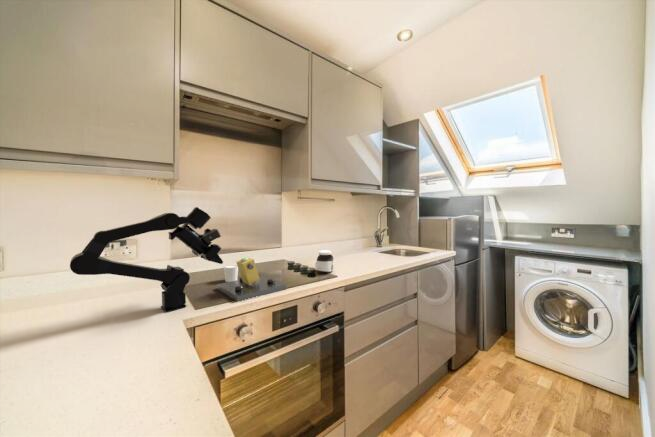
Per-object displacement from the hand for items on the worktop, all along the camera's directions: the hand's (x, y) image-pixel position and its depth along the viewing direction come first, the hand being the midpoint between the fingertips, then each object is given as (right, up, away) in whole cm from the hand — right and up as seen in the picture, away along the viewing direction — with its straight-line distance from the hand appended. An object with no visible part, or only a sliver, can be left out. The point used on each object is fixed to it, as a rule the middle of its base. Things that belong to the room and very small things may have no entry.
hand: (221, 262), depth 103 cm
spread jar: (+41, -12, +39) cm, 58 cm away
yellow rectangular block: (+9, -10, +9) cm, 16 cm away
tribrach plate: (+9, -13, +9) cm, 19 cm away
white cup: (-5, -13, +23) cm, 27 cm away
